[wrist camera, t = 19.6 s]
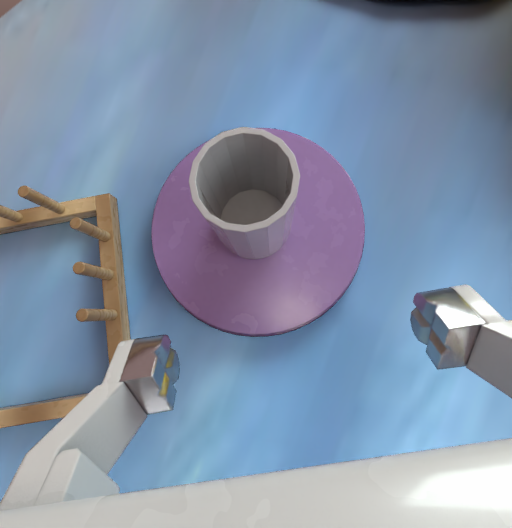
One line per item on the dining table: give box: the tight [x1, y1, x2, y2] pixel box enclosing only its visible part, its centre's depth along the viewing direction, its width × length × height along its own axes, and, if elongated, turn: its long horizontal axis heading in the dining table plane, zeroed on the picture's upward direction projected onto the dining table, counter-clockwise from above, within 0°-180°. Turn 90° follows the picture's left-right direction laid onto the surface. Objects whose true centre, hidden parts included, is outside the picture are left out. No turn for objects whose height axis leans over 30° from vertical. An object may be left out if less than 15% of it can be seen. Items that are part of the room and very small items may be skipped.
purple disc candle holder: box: [152, 128, 365, 337], centre depth 23 cm, size 16×16×1 cm
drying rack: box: [0, 186, 130, 428], centre depth 21 cm, size 15×16×5 cm
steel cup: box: [189, 127, 300, 259], centre depth 19 cm, size 6×6×8 cm
